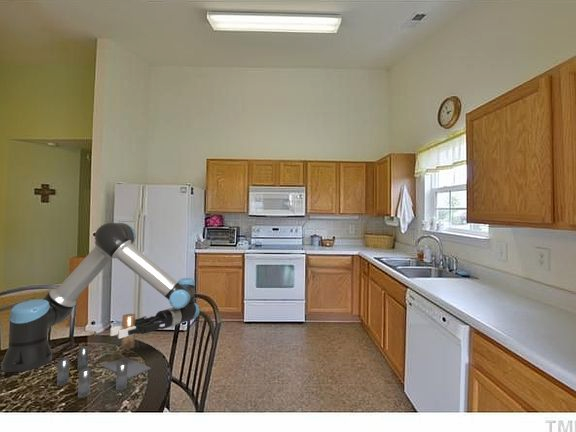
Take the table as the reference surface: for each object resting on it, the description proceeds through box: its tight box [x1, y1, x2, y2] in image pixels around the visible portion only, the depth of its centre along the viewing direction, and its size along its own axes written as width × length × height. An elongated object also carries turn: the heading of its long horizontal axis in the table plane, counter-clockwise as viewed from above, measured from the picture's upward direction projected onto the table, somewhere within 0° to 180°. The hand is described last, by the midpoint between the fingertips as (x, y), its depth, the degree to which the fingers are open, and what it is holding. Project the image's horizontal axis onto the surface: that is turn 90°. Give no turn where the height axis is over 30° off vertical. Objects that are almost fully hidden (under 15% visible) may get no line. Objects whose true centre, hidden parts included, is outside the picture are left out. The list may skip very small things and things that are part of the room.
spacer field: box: [56, 345, 128, 399], centre depth 107 cm, size 28×12×8 cm, turn 59°
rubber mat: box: [101, 357, 152, 380], centre depth 119 cm, size 17×9×1 cm, turn 59°
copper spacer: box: [121, 313, 136, 350], centre depth 119 cm, size 4×4×12 cm
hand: (114, 333), depth 115 cm, fingers closed on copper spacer, 4 cm apart
